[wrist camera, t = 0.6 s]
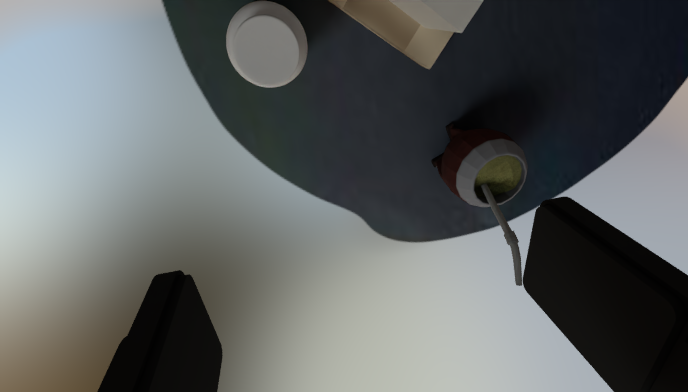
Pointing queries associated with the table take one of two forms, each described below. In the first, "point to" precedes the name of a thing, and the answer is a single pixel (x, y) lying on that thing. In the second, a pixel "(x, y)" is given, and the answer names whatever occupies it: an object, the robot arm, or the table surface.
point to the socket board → (397, 29)
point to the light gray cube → (440, 12)
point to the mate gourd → (485, 174)
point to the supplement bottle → (266, 44)
